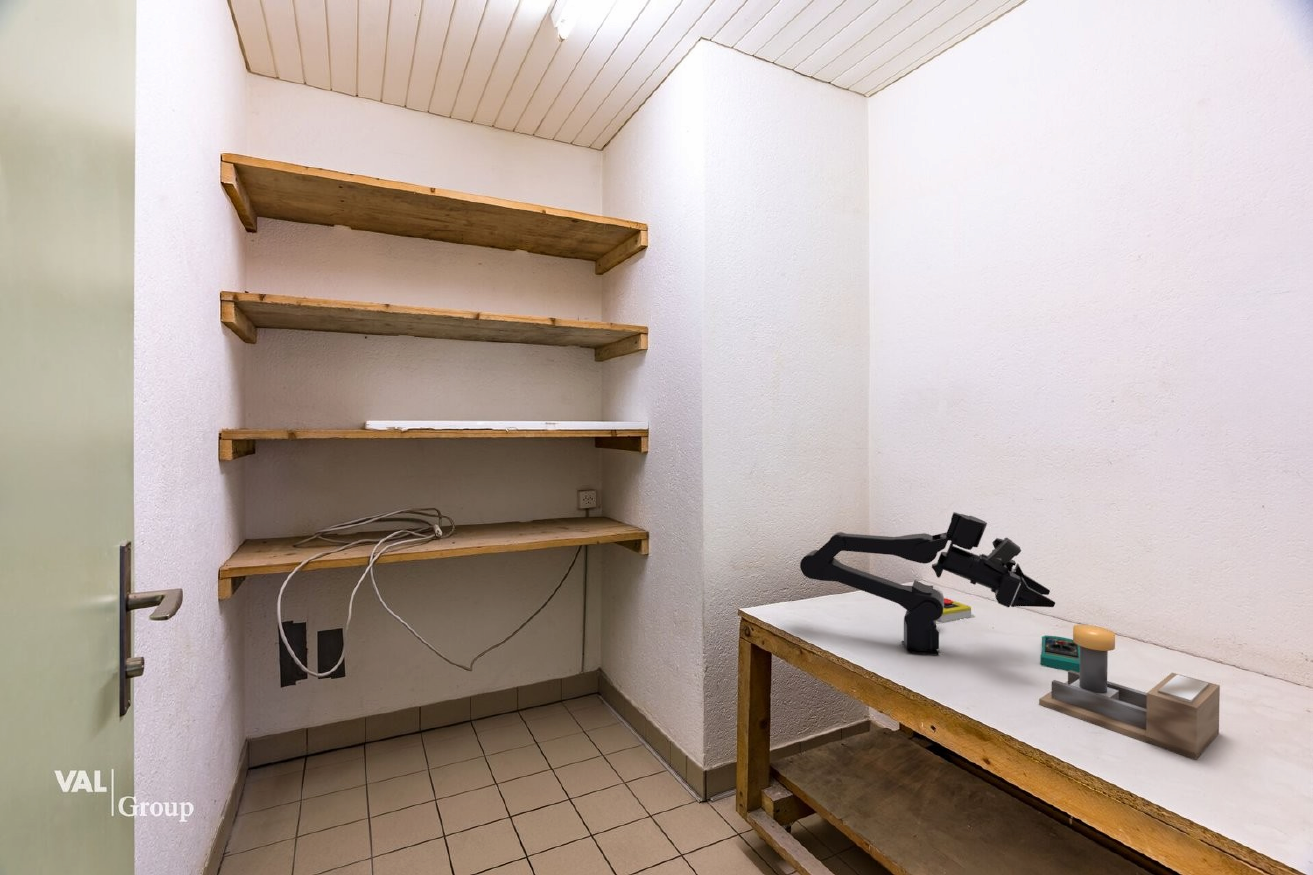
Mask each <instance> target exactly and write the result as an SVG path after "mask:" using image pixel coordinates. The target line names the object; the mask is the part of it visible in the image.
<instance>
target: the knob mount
mask: <svg viewBox="0 0 1313 875" xmlns="http://www.w3.org/2000/svg"><path fill="white" fill-rule="evenodd" d="M1078 679H1079V672H1075V671H1072V670H1070V671H1067V681H1065V682H1062V681H1059V680H1056V679H1053V680H1052V681H1051V691H1049V692H1047V693H1046V694H1045V695H1043V696H1041V697H1040V698H1039V699H1038V705H1041V706H1043V707H1044V708H1045V707H1046V708H1048V709H1050V710H1054V711H1057V712H1060V713H1061V714H1065V715H1068V716H1071V717H1074V718H1077V719H1079V720H1083V721H1084V722H1085V721H1086V722H1088V723H1090V724H1093V725H1096V726H1099V727H1102V728H1104V729H1107V730H1111V731H1113V732H1116V733H1118V734H1122V735H1123V736H1128V737H1130V738H1132V739H1135V738H1136V740H1138V741H1142V742H1143V743H1144V742H1145V743H1147V744H1149V745H1153V746H1155V747H1159V748H1161V749H1164V750H1166V751H1170V752H1171V753H1174V754H1177V755H1181V756H1184V757H1187V758H1189V759H1192V760H1195V761H1197V760H1198V758H1200V756H1201V755H1202V754H1203V753H1204V752H1205V751H1206V749H1208V747H1209V746H1210V745H1211V744H1212V743H1213V741H1214V740H1215V739H1216V738H1217V736H1218V735H1219V734H1220V695H1221V694H1220V693H1221V691H1220V690H1221V689H1220V688H1221V686H1220V684H1216V683H1212V682H1210V681H1209V682H1208V681H1206V680H1201V679H1197V678H1194V677H1189V676H1187V675H1182V674H1179V673H1176V672H1171V673H1170V674H1169V675H1167V676H1166V677H1164V678H1163V679H1162V680H1161V681H1160V682H1159V683H1157V684H1156V685H1155V686H1154V687H1152V688H1151V689H1150V690H1149V691H1148V692H1146V691H1141V690H1139V689H1135V688H1131V687H1130V686H1129V687H1128V686H1125V685H1122V684H1119V683H1115V682H1112V681H1108V680H1107V687H1109V688H1112V689H1115V690H1118V691H1119V700H1116V699H1113V698H1110V697H1107V696H1104V695H1101V694H1097V693H1094V692H1091V691H1088V690H1085V689H1082V688H1079V687H1075V686H1072V685H1070V684H1072V683H1073V682H1075V681H1076V680H1078Z"/></svg>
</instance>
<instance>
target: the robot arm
mask: <svg viewBox="0 0 1313 875" xmlns="http://www.w3.org/2000/svg"><path fill="white" fill-rule="evenodd" d="M987 525H988V523H987V521H984V520H983V519H980V518H978V517H976V516H973V515H967V514H963V513H958V512H954V511H953V512H952V516H951V519H950V523H949V526H948V528H947V531H946V532H941V533H938V534H934V535H932V534H929V533H926V532H925V533H924V532H923V533H913V534H905V535H901V536H899V535H898V536H888V535H887V536H886V535H885V536H884V535H874V534H873V535H872V534H857V533H855V534H854V533H845V532H841V531H839V532H836V533H834V534H833V535H832V536H831V537H830V539H829V540H828V541H827V542H826V543H825V544H824V545H822V546H821V547H820V548H819V549H813V550H812V551H810V552H808V553H807V554H806V555H805V556H803V558H802V559H800V562H799V567H800V570H801V571H800V572H801V573H802V575H803V576H805V577H806V578H808V579H809V580H810V579H811V580H815V581H821V582H836V583H841V584H843V585H846V586H848V587H851V588H854V589H856V590H860V591H861V592H865V593H866V594H867V593H868V594H870V595H873V596H876V597H877V598H881V599H885V600H887V601H891V602H893V603H896V604H898V605H900V606H901V607H902V608H903V609H905V610H906V611H905V614H904V615H903V616H904V617H903V618H904V619H903V640H901V645H902V646H903V647H904V649H905V650H906V652H907V653H908V654H917V655H930V656H931V655H933V656H934V655H935V656H939V654H940V651H938V650H939V649H940V631H939V630H938V629H937V624H935V623H934V622H933V621H935V620H938V619H939V618H940V617H941V616H942V614H943V609H944V598H945V597H944V598H943V596H942V595H941V593H940V592H939V591H937V590H935V589H933V586H934V585H933V586H929V585H930V584H925V583H922V582H920V581H918V580H914V581H913V583H912V585H905V584H901V583H898V582H895V581H893V580H889V579H886V578H883V577H880V576H878V575H875V574H872V573H869V572H866V571H864V570H860V569H857V568H854V567H852V566H848V565H845V564H843V563H842V562H840V561H839V560H838V559H836V558H835V557H836V556H838V554H840V552H853V553H854V552H855V553H865V554H878V555H889V556H896V557H898V558H901V559H904V560H906V561H907V560H908V561H911V562H915V563H918V564H923V565H925V564H930V563H931V562H933V561H934V560H935V559H936V558H937V555H938V553H939V556H938V559H937V562H936V563H933V564H931V569H932V570H933V571H934V573H935V575H936V577H937V578H938V579H939V578H941V576H942V574H943V571H946V572H948V573H950V574H954V575H955V576H958V577H961V578H964V579H965V580H968V581H969V584H972V585H976V584H978V585H981V586H982V587H986V588H987V589H990V592H992V593H994V596H995V599H996V602H997V603H998V604H999V605H1001V606H1004V607H1006V608H1010V607H1011V608H1014V607H1034V608H1035V607H1038V608H1039V607H1040V608H1045V607H1046V608H1054V607H1055V606H1056V602H1055V601H1054V600H1052V599H1050V598H1049V597H1048V596H1049V594H1050V593H1051V590H1050V589H1049V588H1047V587H1046V586H1044V585H1043V584H1041V583H1040V582H1037V581H1036V580H1034V579H1033V578H1031V577H1029V576H1028V575H1026V574H1025V573H1024V572H1023V570H1022V568H1021V566H1020V564H1019V563H1016V560H1014V559H1013V558H1014V557H1017V556H1019V554H1020V553H1021V552H1022V549H1021V547H1020V546H1019V545H1017V543H1015V542H1014V541H1013V540H1012V539H1010V538H1008V537H1004V539H1002V538H998V537H996V538H995V539H994V540H993V541H992V542H991V543H992V546H993V549H992V550H991V552H990V553H989V554H988V555H987V554H985V553H980V554H978V555H977V554H976V553H973V552H971V550H972V549H973V548H978V547H979V545H980V543H981V540H982V539H983V538H982V537H983V534H984V533H985V530H986V528H987ZM948 541H950V543H949V546H948V548H947V551H943V550H944V549H946V547H947V544H948ZM968 550H969V551H968ZM1014 566H1015V568H1013V567H1014Z"/></svg>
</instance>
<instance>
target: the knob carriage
mask: <svg viewBox="0 0 1313 875" xmlns="http://www.w3.org/2000/svg"><path fill="white" fill-rule="evenodd" d="M1072 640H1073V642H1074V643H1075V644H1077V645H1079V646H1080V672H1079V679H1078V680H1076V681H1075V682H1073V683H1072V684H1070V685H1072V686H1075V687H1079V688H1082V689H1085V690H1088V691H1091V692H1094V693H1097V694H1101V695H1104V696H1107V697H1110V698H1113V699H1116V700H1119V691H1118V690H1115V689H1112V688H1109V687H1107V681H1108V666H1109V665H1108V658H1109V655H1108V653H1109V652H1111V651H1114V650H1115V649H1116V633H1115V632H1114V631H1113V630H1111V629H1109V628H1105V627H1102V626H1097V625H1093V624H1075V625H1073V626H1072Z"/></svg>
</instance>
